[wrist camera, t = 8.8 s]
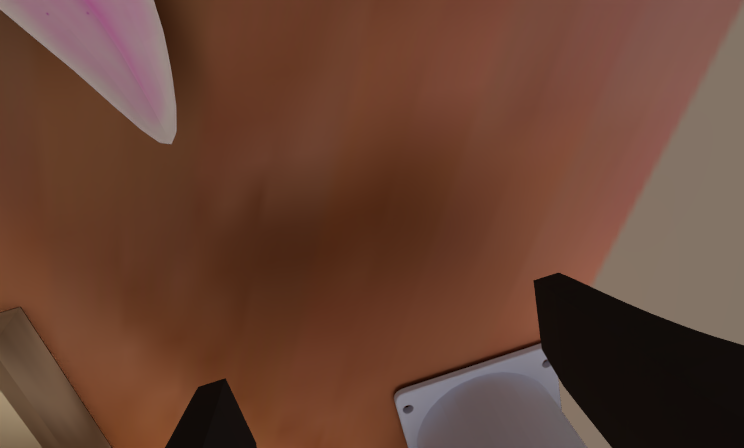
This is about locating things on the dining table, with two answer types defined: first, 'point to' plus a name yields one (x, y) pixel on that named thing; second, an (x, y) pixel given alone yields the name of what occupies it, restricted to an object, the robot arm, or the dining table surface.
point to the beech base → (38, 394)
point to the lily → (109, 53)
